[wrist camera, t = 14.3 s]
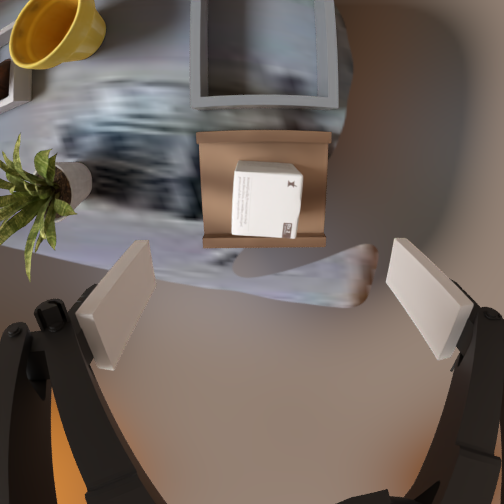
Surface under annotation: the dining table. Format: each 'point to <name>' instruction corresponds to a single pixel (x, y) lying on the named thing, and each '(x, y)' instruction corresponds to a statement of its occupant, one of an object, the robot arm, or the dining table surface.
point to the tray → (264, 150)
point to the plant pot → (55, 33)
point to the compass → (4, 78)
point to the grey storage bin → (324, 101)
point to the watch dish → (15, 78)
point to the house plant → (40, 197)
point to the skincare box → (266, 199)
